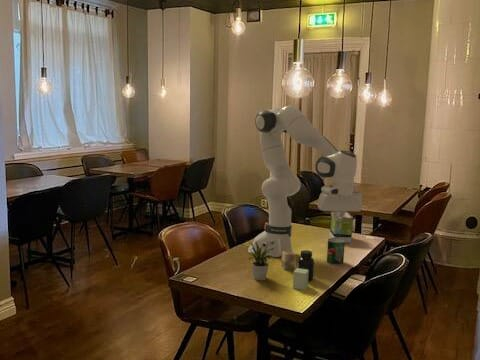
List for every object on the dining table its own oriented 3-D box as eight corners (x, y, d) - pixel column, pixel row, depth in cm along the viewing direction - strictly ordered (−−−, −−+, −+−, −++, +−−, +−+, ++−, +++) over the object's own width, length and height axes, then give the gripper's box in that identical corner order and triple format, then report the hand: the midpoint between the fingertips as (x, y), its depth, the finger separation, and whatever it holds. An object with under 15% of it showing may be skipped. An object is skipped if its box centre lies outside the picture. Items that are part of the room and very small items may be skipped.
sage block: (292, 288, 193) (293, 271, 192) (295, 284, 198) (296, 268, 197) (304, 290, 191) (305, 273, 190) (307, 286, 196) (308, 269, 195)
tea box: (351, 243, 262) (353, 217, 259) (333, 243, 262) (335, 216, 260) (346, 236, 276) (348, 211, 274) (329, 236, 277) (330, 210, 275)
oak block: (284, 269, 215) (285, 254, 214) (281, 266, 220) (282, 251, 219) (295, 269, 216) (295, 254, 215) (292, 265, 221) (292, 251, 220)
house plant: (233, 278, 202) (234, 240, 200) (250, 269, 213) (252, 234, 211) (262, 286, 194) (264, 247, 192) (279, 276, 206) (280, 240, 203)
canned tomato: (346, 263, 228) (348, 240, 226) (337, 266, 222) (338, 243, 221) (332, 258, 233) (334, 237, 232) (323, 262, 228) (324, 239, 226)
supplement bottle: (302, 275, 209) (303, 248, 207) (316, 278, 205) (317, 251, 203) (294, 279, 204) (295, 251, 202) (308, 283, 199) (309, 255, 198)
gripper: (358, 188, 210) (353, 219, 212) (318, 187, 202) (313, 218, 204) (367, 191, 204) (362, 223, 206) (326, 190, 196) (321, 222, 198)
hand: (337, 220), depth 205 cm, fingers closed
